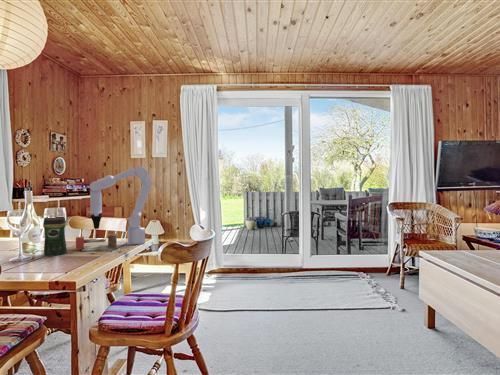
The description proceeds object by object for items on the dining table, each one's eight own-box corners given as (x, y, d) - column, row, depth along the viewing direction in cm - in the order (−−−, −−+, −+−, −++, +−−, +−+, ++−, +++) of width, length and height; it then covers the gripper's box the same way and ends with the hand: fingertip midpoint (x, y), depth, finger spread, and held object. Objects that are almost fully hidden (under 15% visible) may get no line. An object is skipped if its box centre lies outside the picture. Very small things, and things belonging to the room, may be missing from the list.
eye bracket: (116, 245, 189) (116, 232, 188) (117, 249, 178) (117, 235, 177) (82, 247, 182) (82, 234, 182) (81, 252, 171) (81, 238, 171)
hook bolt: (105, 245, 182) (105, 235, 182) (105, 246, 179) (105, 236, 179) (76, 247, 177) (76, 237, 177) (75, 249, 173) (75, 238, 173)
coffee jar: (67, 251, 171) (67, 215, 171) (64, 255, 164) (64, 216, 164) (45, 253, 168) (45, 215, 168) (41, 256, 161) (41, 217, 160)
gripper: (88, 202, 192) (88, 226, 192) (87, 204, 179) (88, 230, 179) (101, 202, 195) (102, 226, 195) (102, 203, 182) (102, 229, 182)
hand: (96, 227), depth 187 cm, fingers open, 7 cm apart
